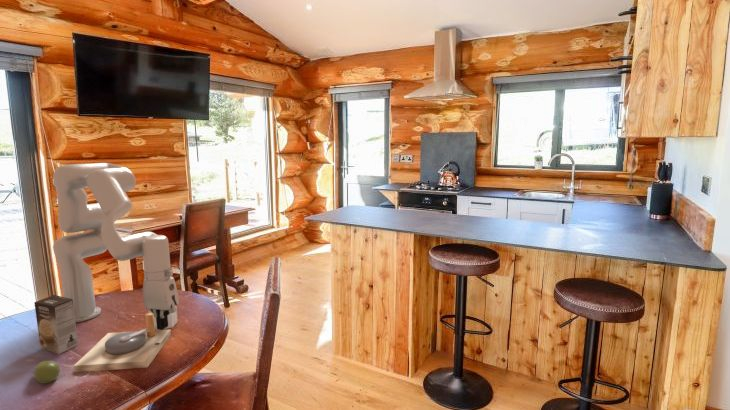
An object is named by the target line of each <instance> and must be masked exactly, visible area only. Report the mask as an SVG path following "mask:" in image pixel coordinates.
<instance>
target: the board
mask: <svg viewBox="0 0 730 410" xmlns="http://www.w3.org/2000/svg"><path fill="white" fill-rule="evenodd" d="M171 329H172V328H169V329H164V330H155V335H154V336H151V337H148V336H147V333H144V334H145V337H146V343H145V344H144V346H142V347H141V348H139V349H137V350H135V351H133V352H130V353H126V354H120V355H112V354H108V353H107V352H106V350H105V342H106V341H107V340H108V339H110V338H111V337H113V336H115V335H118V334H121V333H125V332H126V331H121V332H120V331H119V332H117V331H116V332H107V333H106V335H104V337H102V338H101V339H100V340H99V341H98V342H97V343H96V344H95V345H94V346H93V347H91V349H89V351H88V352H86V354H84V355H83V356H82V357H81V358H80V359H79V360H78V361H77V362H76V363H75V364H74V365H73V372H74V373H80V372H82V373H83V372H95V371H96V372H97V371H98V372H99V371H110V370H111V371H112V370H127V369H143V368H144V369H145V368H149V366H150V365H151V364H152V362H153V361H154V360H155V358H156V356H157V355H158V354H159V353H160V350H161V349H162V348H163V347H164V345H165V344H166V343H167V342H168V340H169V338H170V337H171V335H172V331H171ZM141 330H142V329H141ZM141 330H140V329H139V330H137V331H141Z"/></svg>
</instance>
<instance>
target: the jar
mask: <svg viewBox="0 0 730 410" xmlns="http://www.w3.org/2000/svg"><path fill="white" fill-rule="evenodd" d="M175 307H176V312H174V313H170V314H169V315H168V316H167V317H168V327H166V328H165V329H163V330H170V329H172V328H174V327H175V325H176V324H178V309H177V308H178V307H177V305H176V306H175ZM148 313H152V312H151V311H149V310H148ZM153 316H154V314H153ZM154 327H155V330H157V323H156V318H155V317H154Z"/></svg>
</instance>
